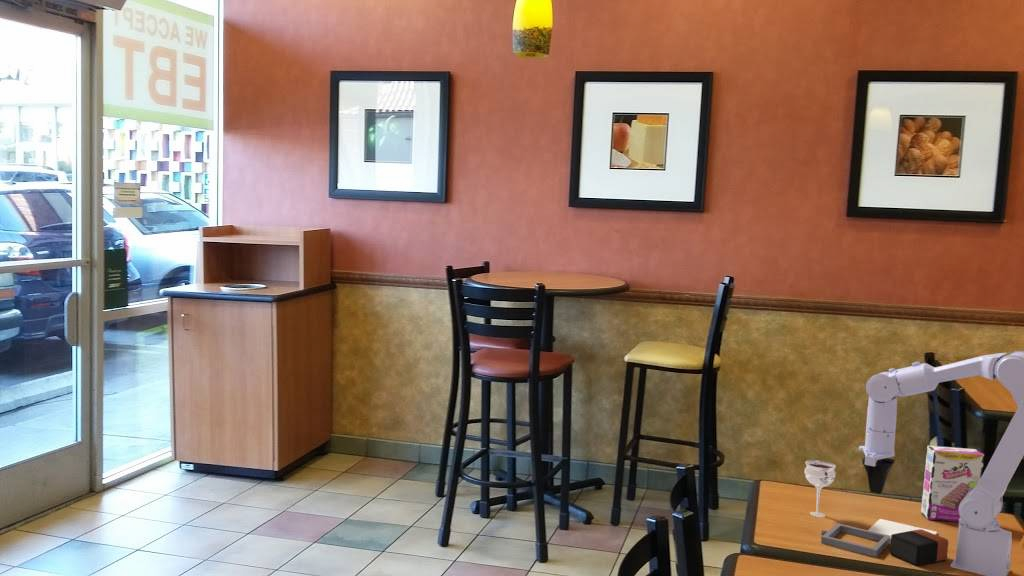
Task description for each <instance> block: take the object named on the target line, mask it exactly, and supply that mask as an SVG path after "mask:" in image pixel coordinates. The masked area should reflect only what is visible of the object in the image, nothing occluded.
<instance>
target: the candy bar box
mask: <svg viewBox="0 0 1024 576" xmlns="http://www.w3.org/2000/svg"><path fill="white" fill-rule="evenodd" d="M925 456H926V457H925V466H924V475H923V476H924V478H923V488H922V497H921V507H920V508H921V509H920V514H921V515H922V516H924V518H926V519H927V520H930V521H931V520H932V521H941V522H942V521H943V522H954V523H956V522H957V523H959V518H960V515H959V505H960V503H961V501H962V500H963V499H965V498H966V497H967V496H968V495H969V493H970V492H971V491H972V490H973V489H974V488H975V487H976V485H977V483H978V482H979V480H980V479H981V477H982V475H983V470H984V460H985V453H983V452H981V451H979V450H977V449H975V448H966V447H965V448H963V447H954V446H953V447H952V446H951V447H950V446H941V445H939V446H938V445H927V447H926V455H925Z"/></svg>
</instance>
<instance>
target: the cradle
mask: <svg viewBox="0 0 1024 576" xmlns="http://www.w3.org/2000/svg"><path fill="white" fill-rule="evenodd" d="M839 533H844V534H848V535H851V536H855V537H859V538H862V539H867V540H871V541H875V542H877V543H876V544H875V545H874V546H873V547H872V546H868V545H863V544H859V543H856V542H851V541H847V540H844V539H839V538H835V537H837V535H838V534H839ZM821 535H822V536H821V539H820V543H821V544H823V545H827V546H831V547H833V548H837V549H842V550H844V551H849V552H853V553H855V554H856V553H857V554H861V555H865V556H869V557H873V558H877V557H879V555H880V554H881V553H882V552H883V551H884V550H885V549H886V548H887V547H888V546H889V544H891V540H890V538H891V536H889V535H885V534H881V533H877V532H872V531H868V530H867V529H864V528H859V527H855V526H850V525H845V524H843V523H836V524H835V525H834V526H832V527H831V528H830V529H829V530H828V531H827V530H821Z"/></svg>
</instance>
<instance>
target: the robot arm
mask: <svg viewBox="0 0 1024 576" xmlns="http://www.w3.org/2000/svg"><path fill="white" fill-rule="evenodd" d="M1007 354H1008V352H1001V353H1000V352H999V353H998V352H997V353H990V354H985V355H979V356H976V357H972V358H968V359H964V360H960V361H956V362H952V363H948V364H943V365H941V366H940V365H939V366H936V367H935V366H932V365H931V364H929V363H926V362H923V363H921V362H920V361H915V362H912V363H911V365H910V366H905V367H902V368H897V369H896V368H895V367H893V368H889V369H888V371H881V372H880V373H877V374H874V375H872V376H871V377H870V378H868V380H867V381H866V384H865V391H866V394H867V395H868V404H867V405H868V406H867V410H866V412H867V413H866V423H865V424H866V426H865V438H864V439H865V440H864V445H859V446H858V451H860V452H863V454H864V455H865V456H864V457H863V458H862V459H861V460H862V461H861V462H862V465H863V466H864V467H863V468H864V469H865V473H866V474H867V475H866V476H867V481H868V486H869V492H870V493H872V494H878V495H881V494H882V493H883V491H884V489H885V485H886V481H887V478H888V475H889V472H890V471H891V468H892V467H893V465H894V464H895V459H894V458H893V457H895V456H896V452H895V445H896V444H895V443H896V442H895V441H896V429H897V416H898V415H897V413H898V409H897V408H898V407H897V406H898V397H902V398H905V397H909V396H914V395H918V394H922V393H927V392H929V393H930V392H933V391H935V390H936V388H937V387H938V385H939V383H944V382H949V381H950V382H951V381H954V380H959V379H965V378H972V377H977V376H979V377H982V378H985V379H988V380H990V381H994V380H996V379H997V380H998V382H1000V384H1001V385H1002V386H1003V387H1004V388H1006V389H1007V390H1008V391H1009V392H1010V394H1011V395H1012V398H1013V399H1014V402H1015V404H1016V405H1017V408H1016V411H1015V412H1014V414H1013V416H1012V418H1011V419H1010V422H1009V423H1008V426H1007V428H1006V430H1005V432H1004V433H1003V435H1002V437H1001V439H1000V441H999V443H998V445H997V447H996V449H995V451H994V452H993V454H992V456H991V458H990V460H989V462H988V464H987V466H986V467H985V469H984V472H982V477H981V479H980V480H979V482H978V483H977V485H976V487H975V488H974V489H973V490H972V491H971V492H970V493H969V495H968V496H967V497H966V498H965V499H963V500H962V501H961V503H960V505H959V515H960V518H959V522H958V529H957V530H958V531H957V539H956V540H957V541H956V551H955V552H956V553H955V558H954V559H953V561H952V562H951V564H950V565H949V566H950V567H951V568H954V569H958V570H961V571H966V572H970V573H973V574H978V575H981V576H1007V575H1008V574H1009V571H1010V569H1011V563H1012V561H1011V553H1012V543H1013V542H1012V541H1013V533H1012V532H1011V531H1009V530H1006V529H1003V528H1001V524H1000V522H999V520H998V518H997V516H998V515H999V514H1000V513H1001V512H1002V509H1003V498H1004V497H1003V496H1004V495H1005V492H1007V491H1006V490H1007V488H1008V485H1009V483H1010V482H1011V479H1012V478H1013V476H1014V474H1015V472H1016V470H1017V468H1018V466H1019V465H1020V463H1021V461H1022V459H1023V457H1024V350H1016V351H1012V352H1011V353H1009V354H1008V355H1007ZM892 458H893V459H892Z"/></svg>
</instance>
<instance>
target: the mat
mask: <svg viewBox="0 0 1024 576" xmlns="http://www.w3.org/2000/svg"><path fill="white" fill-rule="evenodd" d="M918 529H922V530H925V531H927V532H930V533H932V534H935V535H937V534H938V531H934V530H931V529H927V528H922V527H918V526H914V525H913V526H912V525H909V524H906V523H901V522H896V521H891V520H887V519H884V518H879V519H878V520H877V521H876V522H875V523H873V524H872V526H870V528H868V531H872V532H877V533H881V534H885V535H889V536H891V535H892V534H897V533H902V532H908V531H913V530H918ZM890 541H891V538H890Z"/></svg>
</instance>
